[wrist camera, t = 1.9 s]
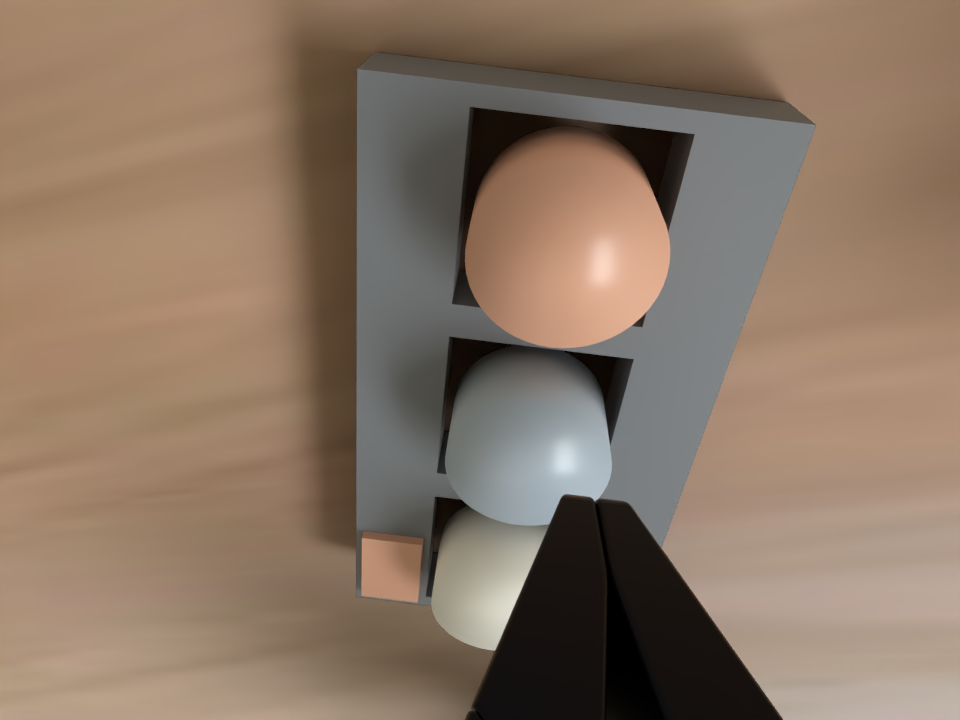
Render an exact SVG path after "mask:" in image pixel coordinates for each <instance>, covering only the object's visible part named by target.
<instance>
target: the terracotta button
mask: <svg viewBox="0 0 960 720" xmlns="http://www.w3.org/2000/svg"><path fill="white" fill-rule="evenodd" d="M669 264H670V240H669V235H668V230H667V226H666V224H665V221H664V218H663V216H662V213H661V211H660V208H659V206H658V203H657V201H656V198H655V196H654V193H653V191H652V188H651V186H650V183H649V181H648V178H647V176H646V173H645V171H644V170H643V168H642V166H641V165H640V163H639V162H638V160H637V159H636V158H635V157H634V155H633V154H632V153H631V152H630V151H629V150H628V149H627V148H625V147H624V146H623V145H622V144H620V143H619V142H618V141H616V140H615V139H613V138H611V137H609V136H607V135H605V134H603V133H601V132H598V131H595V130H592V129H587V128H582V127H572V126H561V127H552V128H547V129H542V130H539V131H536V132H533V133H530V134H528V135H526V136H524V137H522V138H520V139H518V140H517V141H515V142H514V143H512V144H511V145H509V146H508V147H507V148H506V149H505V150H503V151H502V152H501V153H500V154H499V155H498V156H497V157H496V159H495V160H494V161H493V162H492V163H491V165H490V166H489V168H488V169H487V171H486V172H485V174H484V176H483V178H482V180H481V182H480V185H479V188H478V191H477V194H476V198H475V203H474V208H473V213H472V218H471V223H470V228H469V232H468V237H467V243H466V249H465V267H466V275H467V278H468V282H469V286H470V288H471V291H472V293H473V295H474V297H475V299H476V301H477V302H478V304H479V306H480V307H481V308H482V310H483V311H484V312H485V313H486V315H487V316H488V317H489V318H490V319H491V320H492V321H493V322H494V323H495V324H497V325H498V326H499V327H500V328H502V329H503V330H504V331H506V332H508V333H509V334H511V335H513V336H515V337H517V338H519V339H521V340H524V341H526V342H529V343H532V344H536V345H540V346H545V347H552V348H576V347H583V346H588V345H592V344H596V343H600V342H602V341H605V340H607V339H610V338H612V337H614V336H616V335H618V334H620V333H621V332H623V331H625V330H626V329H628V328H629V327H630V326H632V325H633V324H634V323H635V322H637V321H638V320H639V319H640V318H641V317H642V316H643V315H644V314H645V313H646V312H647V311H648V310H649V308H650V307H651V306H652V304H653V303H654V302H655V300H656V299H657V297H658V295H659V293H660V291H661V289H662V287H663V285H664V282H665V280H666V277H667V273H668V268H669Z"/></svg>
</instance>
